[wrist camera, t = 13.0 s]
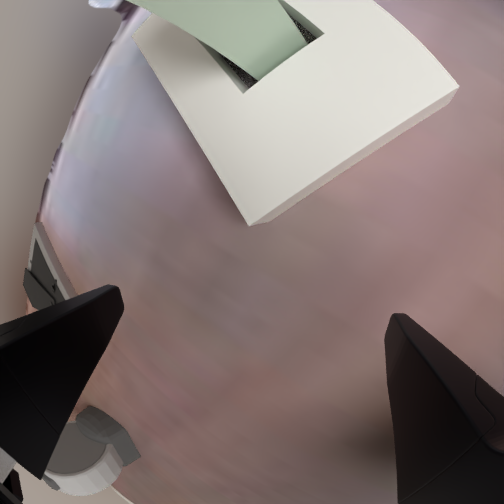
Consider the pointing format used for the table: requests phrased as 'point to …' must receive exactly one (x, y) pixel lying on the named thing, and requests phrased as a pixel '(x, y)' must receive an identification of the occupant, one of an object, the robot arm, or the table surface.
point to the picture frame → (45, 273)
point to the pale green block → (236, 29)
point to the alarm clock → (89, 454)
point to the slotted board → (299, 100)
